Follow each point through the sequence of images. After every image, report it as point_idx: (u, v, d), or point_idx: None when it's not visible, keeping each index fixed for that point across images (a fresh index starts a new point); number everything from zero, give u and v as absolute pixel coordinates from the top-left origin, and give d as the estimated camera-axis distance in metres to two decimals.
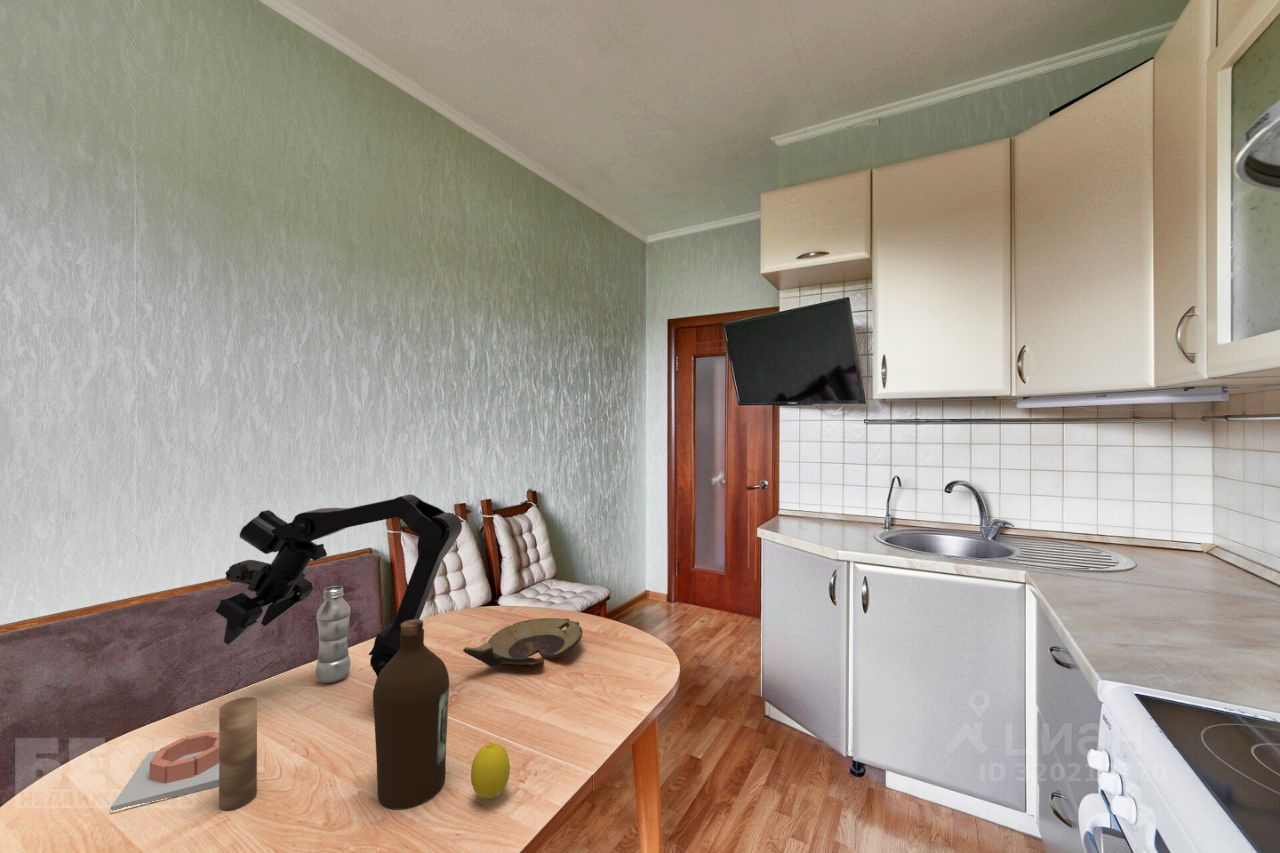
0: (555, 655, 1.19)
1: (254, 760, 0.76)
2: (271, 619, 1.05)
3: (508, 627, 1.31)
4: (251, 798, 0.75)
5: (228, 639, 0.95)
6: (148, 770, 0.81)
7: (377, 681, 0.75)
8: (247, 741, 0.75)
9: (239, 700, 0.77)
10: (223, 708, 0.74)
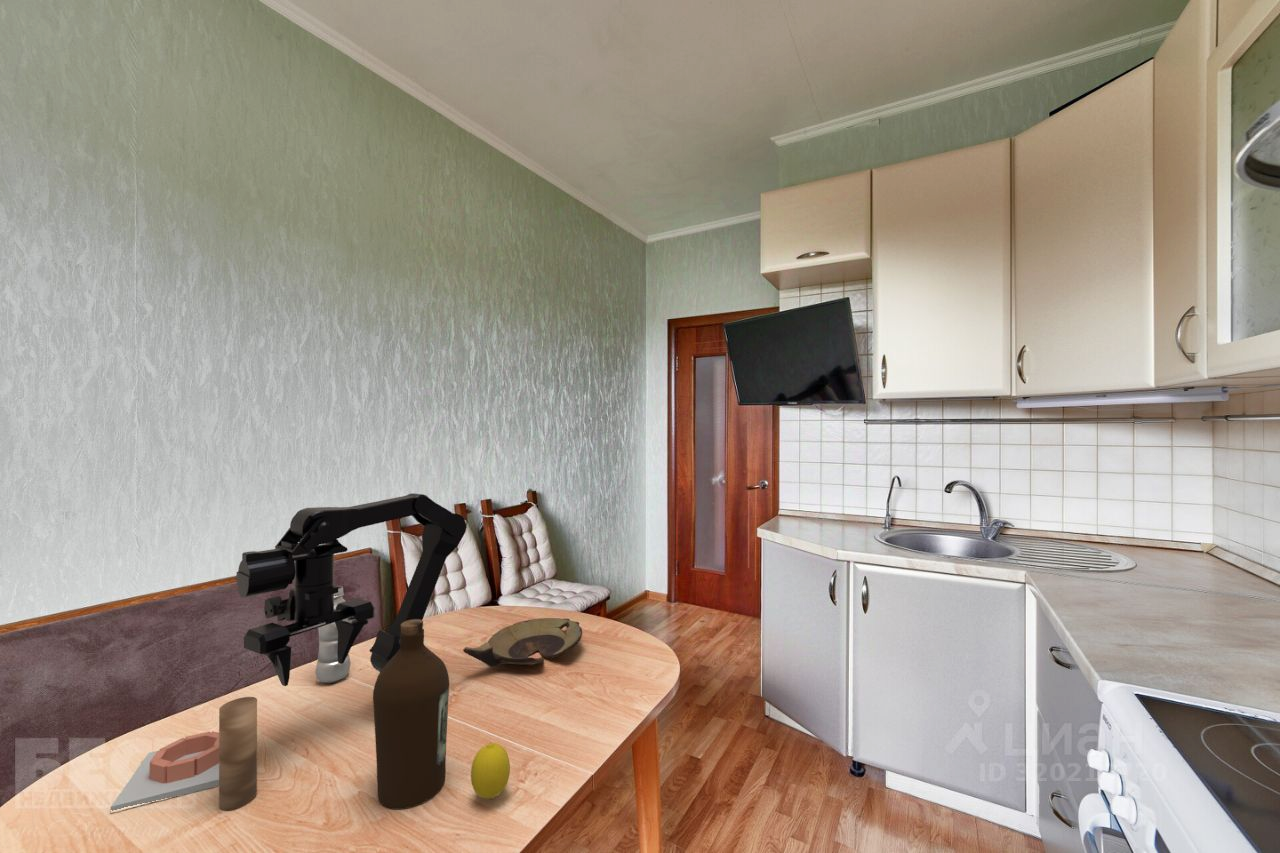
0: (555, 655, 1.19)
1: (254, 760, 0.76)
2: (342, 654, 0.91)
3: (508, 627, 1.31)
4: (251, 798, 0.75)
5: (282, 680, 0.83)
6: (148, 770, 0.81)
7: (377, 681, 0.75)
8: (247, 741, 0.75)
9: (239, 700, 0.77)
10: (223, 708, 0.74)
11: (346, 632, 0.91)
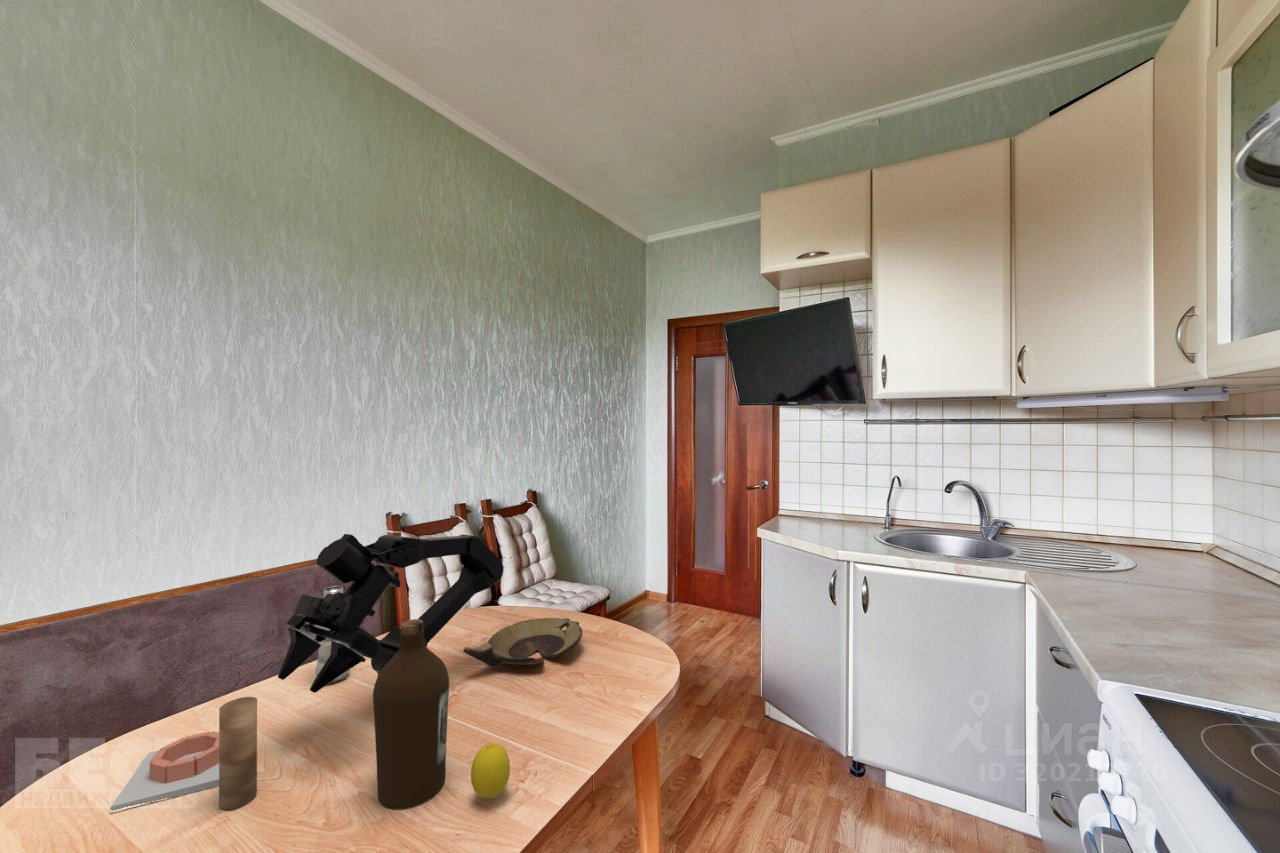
0: (555, 655, 1.19)
1: (254, 760, 0.76)
2: (293, 669, 0.86)
3: (508, 627, 1.31)
4: (251, 798, 0.75)
5: (319, 685, 0.81)
6: (148, 770, 0.81)
7: (377, 681, 0.75)
8: (247, 741, 0.75)
9: (239, 700, 0.77)
10: (223, 708, 0.74)
11: (308, 648, 0.89)
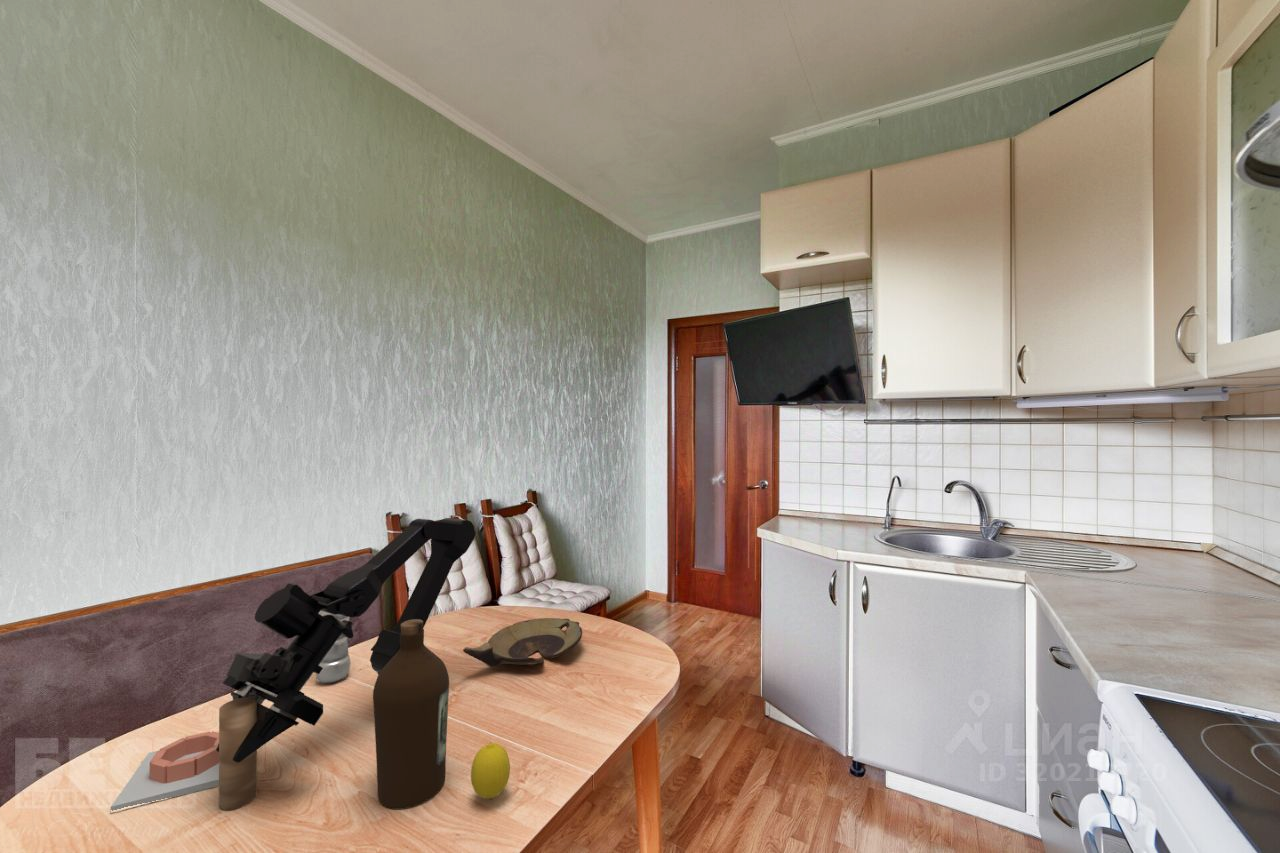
0: (555, 655, 1.19)
1: (254, 761, 0.76)
2: None
3: (508, 627, 1.31)
4: (251, 798, 0.75)
5: (244, 754, 0.74)
6: (148, 770, 0.81)
7: (377, 681, 0.75)
8: None
9: (239, 700, 0.77)
10: (223, 708, 0.74)
11: None
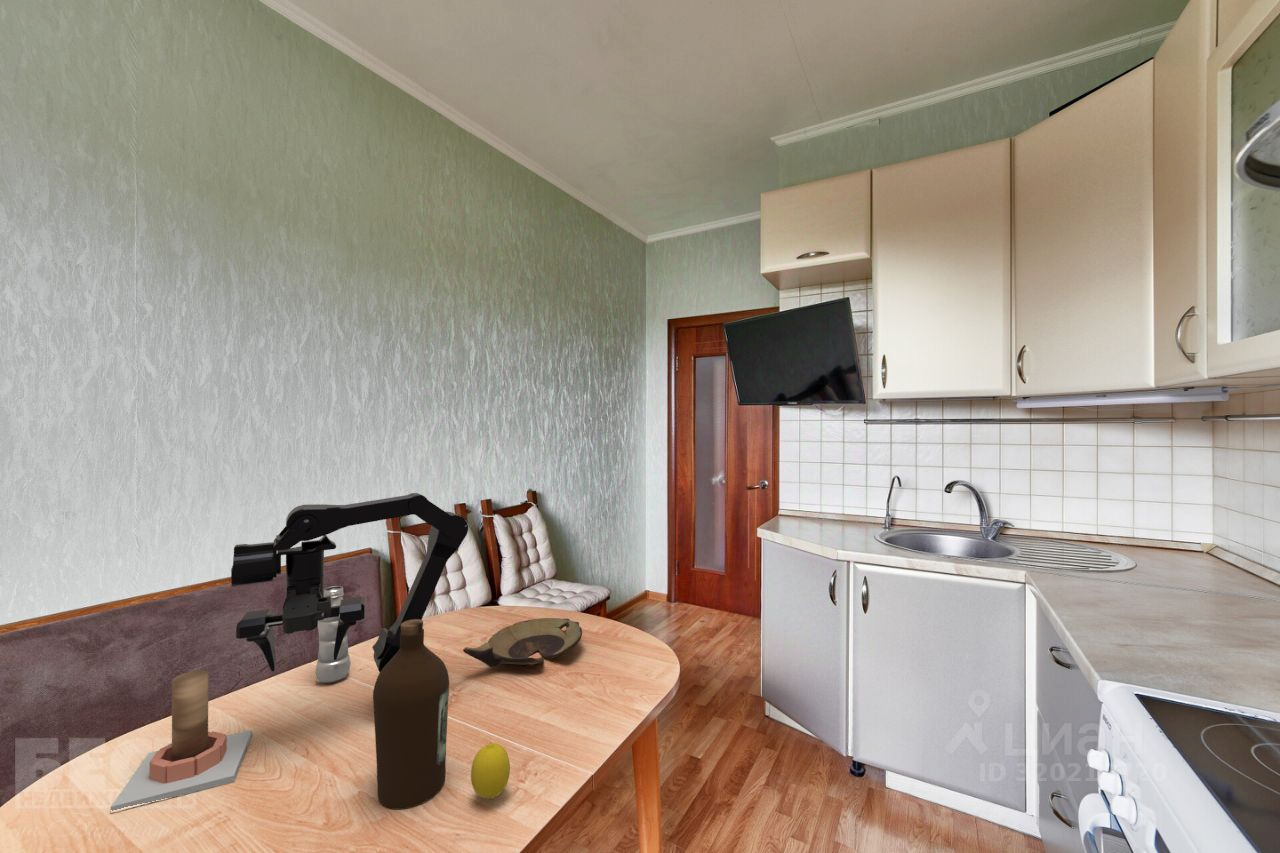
0: (555, 655, 1.19)
1: (198, 731, 0.81)
2: (275, 657, 0.89)
3: (508, 627, 1.31)
4: None
5: None
6: (148, 770, 0.81)
7: (377, 681, 0.75)
8: (189, 712, 0.81)
9: (197, 672, 0.84)
10: (178, 677, 0.82)
11: (272, 636, 0.89)
